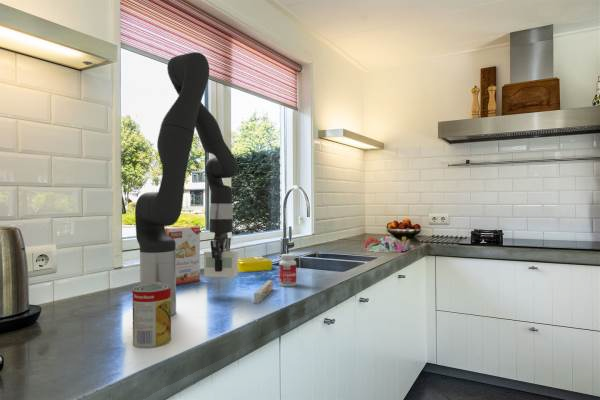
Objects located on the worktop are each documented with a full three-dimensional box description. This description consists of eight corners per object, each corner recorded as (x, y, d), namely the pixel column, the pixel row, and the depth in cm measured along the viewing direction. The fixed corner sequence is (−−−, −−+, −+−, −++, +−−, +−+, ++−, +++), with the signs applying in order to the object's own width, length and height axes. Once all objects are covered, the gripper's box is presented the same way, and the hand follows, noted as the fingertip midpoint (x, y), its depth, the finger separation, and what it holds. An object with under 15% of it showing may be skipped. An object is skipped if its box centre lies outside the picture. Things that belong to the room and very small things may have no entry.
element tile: (231, 267, 191) (231, 257, 191) (263, 265, 196) (263, 255, 196) (239, 273, 177) (239, 261, 177) (273, 270, 182) (273, 259, 182)
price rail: (261, 303, 123) (261, 293, 123) (254, 303, 124) (254, 293, 124) (274, 289, 143) (274, 280, 143) (268, 288, 144) (268, 280, 144)
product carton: (233, 277, 132) (234, 252, 132) (203, 276, 133) (203, 251, 134) (237, 275, 136) (237, 250, 137) (208, 274, 138) (208, 250, 138)
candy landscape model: (385, 247, 264) (385, 233, 264) (416, 251, 245) (416, 235, 245) (358, 251, 248) (358, 235, 248) (389, 255, 230) (389, 238, 230)
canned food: (175, 335, 95) (174, 283, 95) (165, 347, 87) (164, 290, 87) (140, 336, 95) (139, 283, 95) (127, 348, 87) (126, 291, 87)
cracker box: (169, 286, 149) (168, 228, 149) (159, 284, 153) (159, 227, 153) (201, 280, 160) (200, 226, 160) (191, 278, 163) (191, 225, 163)
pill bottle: (281, 287, 146) (281, 256, 146) (277, 284, 152) (277, 253, 152) (298, 286, 148) (298, 255, 148) (293, 282, 154) (293, 253, 154)
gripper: (225, 218, 128) (225, 274, 127) (238, 217, 142) (238, 267, 142) (202, 218, 129) (201, 273, 128) (217, 217, 143) (217, 266, 143)
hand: (220, 270), depth 135 cm, fingers closed on product carton, 4 cm apart
